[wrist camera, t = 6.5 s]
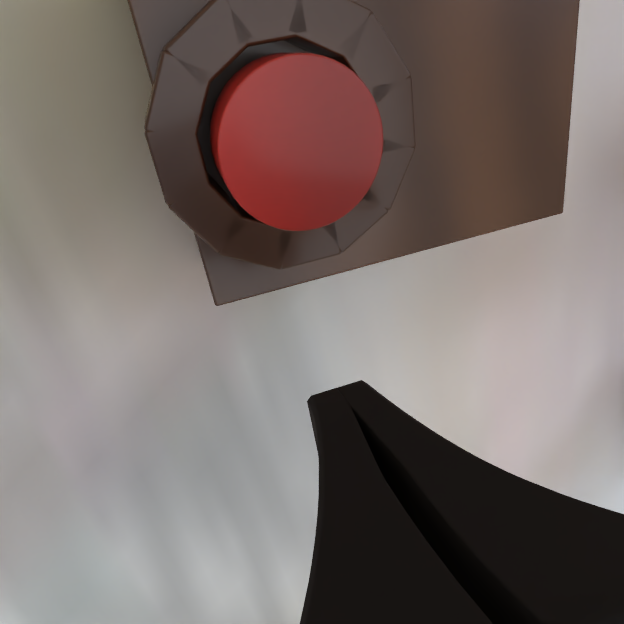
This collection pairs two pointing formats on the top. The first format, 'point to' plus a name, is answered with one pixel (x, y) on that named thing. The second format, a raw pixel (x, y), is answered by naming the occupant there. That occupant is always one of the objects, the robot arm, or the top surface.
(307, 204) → the red push button
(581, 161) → the top surface
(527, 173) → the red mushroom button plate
